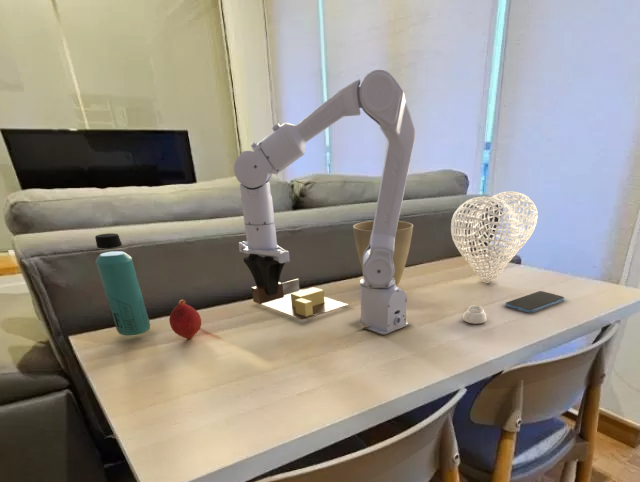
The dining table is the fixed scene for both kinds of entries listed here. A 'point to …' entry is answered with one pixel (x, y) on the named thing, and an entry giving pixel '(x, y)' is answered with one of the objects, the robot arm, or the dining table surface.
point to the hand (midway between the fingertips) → (268, 292)
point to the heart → (477, 216)
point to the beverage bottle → (121, 287)
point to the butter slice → (303, 307)
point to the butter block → (309, 296)
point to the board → (287, 308)
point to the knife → (283, 289)
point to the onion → (185, 320)
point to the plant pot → (400, 248)
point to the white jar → (475, 315)
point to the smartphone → (534, 301)
